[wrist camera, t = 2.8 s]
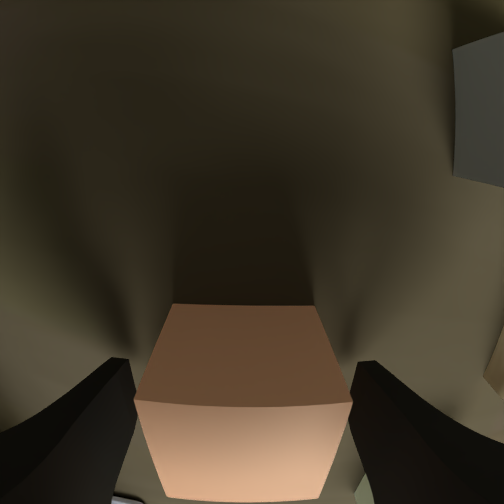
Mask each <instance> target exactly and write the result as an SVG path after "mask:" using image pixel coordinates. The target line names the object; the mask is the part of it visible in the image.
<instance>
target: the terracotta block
mask: <svg viewBox="0 0 504 504" xmlns="http://www.w3.org/2000/svg"><path fill="white" fill-rule="evenodd" d="M134 403H135V406H136V410H137V413H138V416H139V420H140V423H141V426H142V429H143V432H144V436H145V439H146V442H147V445H148V448H149V450H150V453H151V456H152V459H153V462H154V465H155V467H156V470H157V473H158V475H159V478H160V480H161V483H162V486H163V488H164V490H165V493H166V495H167V497H172V498H180V499H190V500H202V501H218V502H278V501H294V500H306V499H316V498H318V497H319V495H320V493H321V490H322V488H323V485H324V483H325V480H326V478H327V475H328V473H329V470H330V468H331V465H332V462H333V460H334V457H335V454H336V452H337V449H338V446H339V443H340V441H341V438H342V435H343V432H344V429H345V426H346V423H347V420H348V417H349V413H350V410H351V407H352V404H353V400H352V398H351V395H350V393H349V390H348V387H347V385H346V382H345V380H344V377H343V375H342V372H341V369H340V367H339V364H338V362H337V359H336V357H335V354H334V352H333V349H332V347H331V344H330V342H329V339H328V337H327V335H326V332H325V330H324V327H323V325H322V322H321V320H320V318H319V315H318V313H317V310H316V308H315V306H243V305H199V304H172V307H171V309H170V311H169V314H168V316H167V318H166V321H165V323H164V325H163V328H162V330H161V333H160V335H159V337H158V340H157V342H156V345H155V347H154V349H153V352H152V354H151V357H150V359H149V362H148V364H147V367H146V369H145V372H144V374H143V377H142V379H141V382H140V384H139V387H138V389H137V392H136V394H135V397H134Z"/></svg>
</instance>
